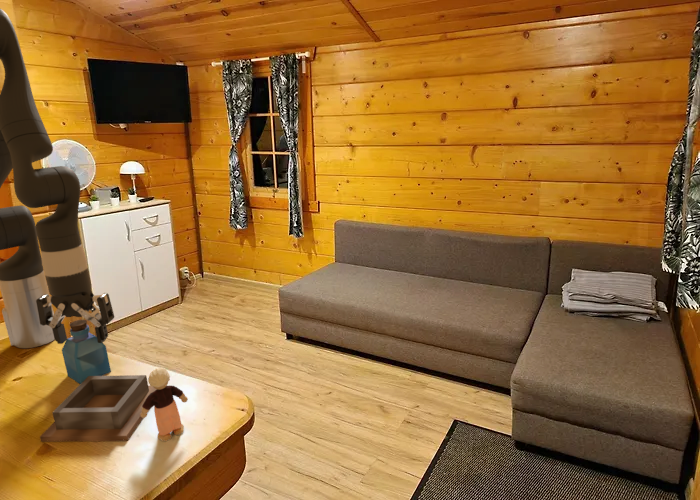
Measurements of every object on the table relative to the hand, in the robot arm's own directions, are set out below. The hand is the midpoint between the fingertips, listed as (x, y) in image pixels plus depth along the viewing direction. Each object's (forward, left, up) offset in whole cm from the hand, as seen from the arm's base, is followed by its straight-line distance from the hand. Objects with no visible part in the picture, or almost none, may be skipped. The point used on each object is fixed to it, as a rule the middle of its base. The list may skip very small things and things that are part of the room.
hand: (82, 341), depth 100 cm
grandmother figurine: (+25, -20, -8) cm, 33 cm away
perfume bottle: (0, 0, -8) cm, 8 cm away
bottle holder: (+11, -14, -8) cm, 19 cm away
